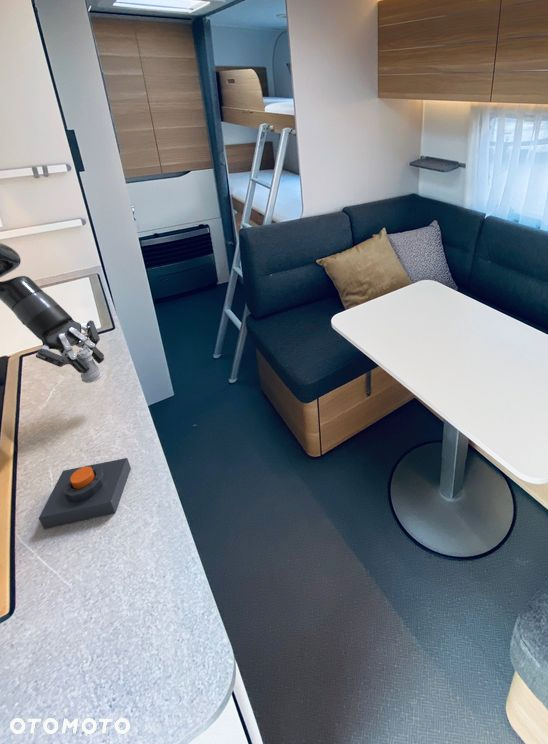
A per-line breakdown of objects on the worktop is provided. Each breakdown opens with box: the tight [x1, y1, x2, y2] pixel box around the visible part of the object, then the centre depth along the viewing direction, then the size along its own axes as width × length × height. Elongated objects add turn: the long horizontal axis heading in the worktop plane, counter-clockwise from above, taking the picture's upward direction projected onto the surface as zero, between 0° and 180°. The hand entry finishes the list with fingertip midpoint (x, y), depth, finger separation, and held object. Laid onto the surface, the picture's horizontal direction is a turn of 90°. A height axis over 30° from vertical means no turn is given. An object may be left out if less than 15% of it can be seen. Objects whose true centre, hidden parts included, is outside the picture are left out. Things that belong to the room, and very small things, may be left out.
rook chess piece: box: [76, 348, 104, 384], centre depth 99 cm, size 4×4×8 cm
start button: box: [70, 465, 95, 489], centre depth 79 cm, size 4×4×2 cm
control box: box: [38, 457, 132, 530], centre depth 81 cm, size 12×10×5 cm
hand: (94, 366), depth 98 cm, fingers closed on rook chess piece, 3 cm apart
